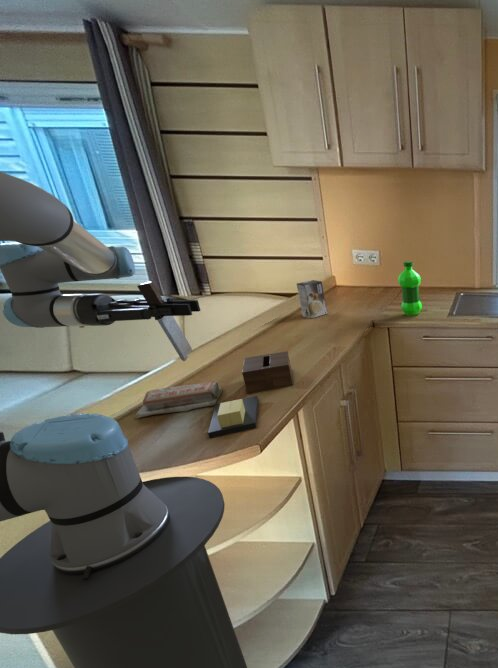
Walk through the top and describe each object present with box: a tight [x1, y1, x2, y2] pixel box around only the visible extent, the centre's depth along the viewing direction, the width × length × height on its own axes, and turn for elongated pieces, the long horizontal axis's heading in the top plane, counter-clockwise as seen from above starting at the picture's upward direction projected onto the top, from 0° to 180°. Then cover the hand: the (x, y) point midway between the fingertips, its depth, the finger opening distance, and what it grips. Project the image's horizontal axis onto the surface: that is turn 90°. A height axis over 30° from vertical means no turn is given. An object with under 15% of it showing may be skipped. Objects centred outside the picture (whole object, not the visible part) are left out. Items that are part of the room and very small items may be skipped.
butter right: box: [229, 398, 245, 425], centre depth 104 cm, size 7×2×4 cm, turn 27°
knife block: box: [241, 351, 294, 394], centre depth 126 cm, size 12×12×7 cm
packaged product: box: [134, 380, 223, 419], centre depth 113 cm, size 18×5×10 cm
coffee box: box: [296, 279, 328, 319], centre depth 190 cm, size 9×6×16 cm
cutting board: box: [207, 395, 259, 439], centre depth 107 cm, size 16×10×2 cm, turn 27°
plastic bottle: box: [397, 260, 423, 317], centre depth 191 cm, size 10×10×25 cm
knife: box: [137, 280, 193, 362], centre depth 98 cm, size 8×2×19 cm, turn 26°
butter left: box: [217, 400, 232, 428], centre depth 103 cm, size 7×2×4 cm, turn 27°
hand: (193, 307), depth 98 cm, fingers closed on knife, 3 cm apart
